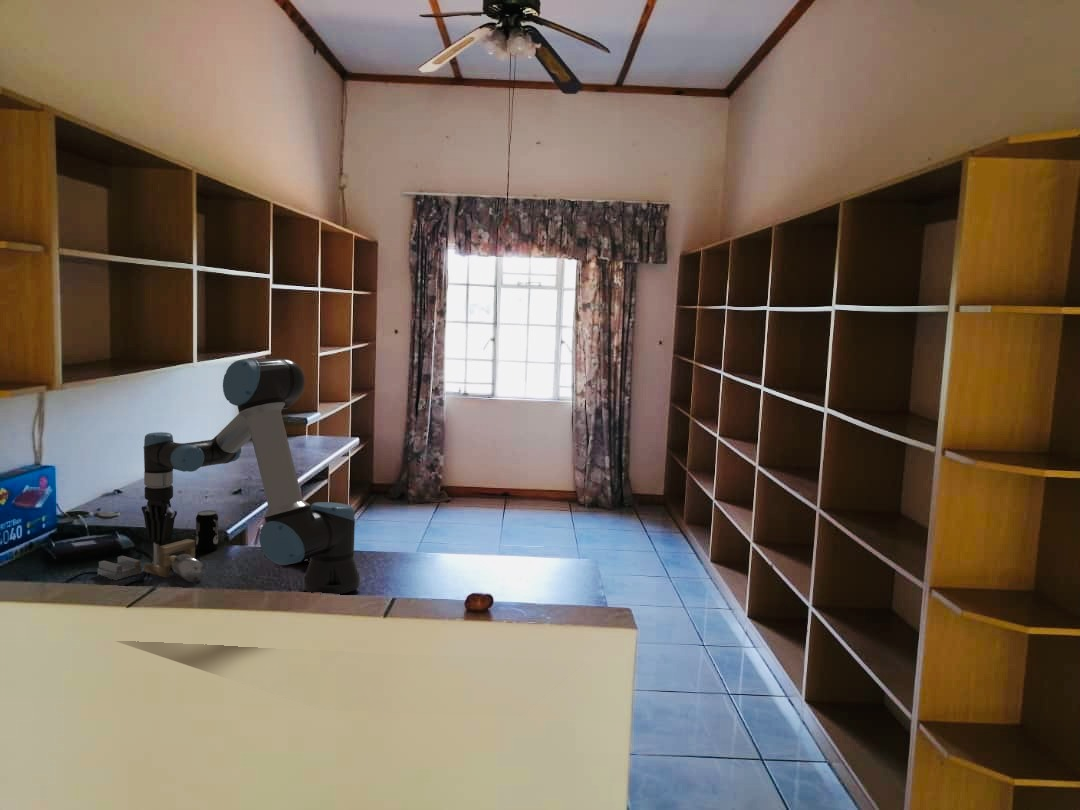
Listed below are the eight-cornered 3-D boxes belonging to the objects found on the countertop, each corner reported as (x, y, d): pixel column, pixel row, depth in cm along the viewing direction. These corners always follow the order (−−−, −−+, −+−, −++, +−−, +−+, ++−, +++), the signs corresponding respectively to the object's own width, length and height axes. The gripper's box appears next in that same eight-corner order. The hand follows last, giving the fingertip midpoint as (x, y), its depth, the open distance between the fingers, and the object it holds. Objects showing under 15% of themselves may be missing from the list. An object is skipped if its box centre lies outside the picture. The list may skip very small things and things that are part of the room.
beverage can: (210, 552, 242) (209, 515, 241) (191, 550, 244) (191, 513, 243) (222, 547, 249) (222, 511, 248) (204, 545, 250) (204, 509, 249)
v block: (141, 572, 221) (141, 560, 221) (115, 580, 214) (115, 567, 214) (124, 567, 225) (123, 555, 225) (97, 575, 218) (97, 562, 217)
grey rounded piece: (207, 578, 218) (204, 558, 217) (185, 585, 214) (182, 565, 213) (195, 570, 224) (192, 551, 223) (173, 577, 220) (170, 557, 219)
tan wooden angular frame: (195, 568, 227) (194, 540, 226) (166, 577, 218) (165, 548, 217) (173, 563, 231) (173, 535, 230) (144, 571, 223) (144, 542, 222)
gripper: (185, 486, 225) (185, 564, 227) (155, 480, 231) (156, 556, 233) (162, 490, 218) (162, 571, 220) (132, 484, 224) (133, 562, 226)
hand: (159, 563), depth 227 cm, fingers closed
